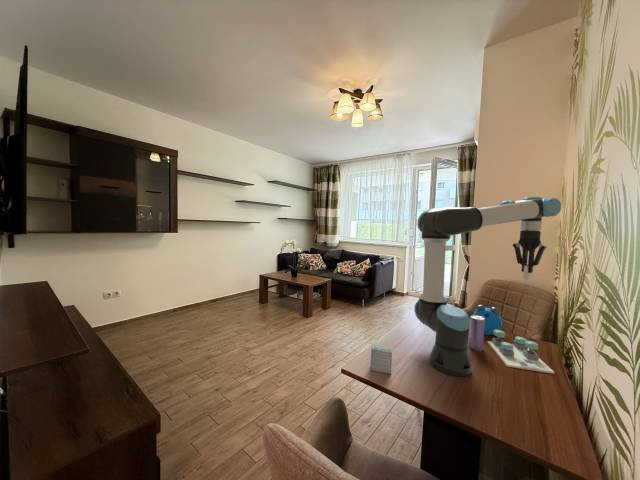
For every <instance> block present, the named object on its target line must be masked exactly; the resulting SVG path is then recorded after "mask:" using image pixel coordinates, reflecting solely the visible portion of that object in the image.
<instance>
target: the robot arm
mask: <svg viewBox="0 0 640 480" xmlns="http://www.w3.org/2000/svg"><path fill="white" fill-rule="evenodd" d="M561 211H562V202H561V201H560V200H559V199H558V198H556V197H546V198H545V197H544V198H543V197H541V196H528V197H527V196H526V197H523V199H522V200H521V199H520V200H511V199H510V200H503V201H502V202H501V203H500V204H499V205H498V204H497V205H493V206H485V207H479V208H478V207H476V206H470V207H469V206H468V207H451V206H450V207H437V208H435V207H434V208H429V209H426V210H424V211H423V212H421V214H420V215H419V216H418V218H417V228H418V230H419V232H421V240H423V242H424V255H423V257H424V261H423V283H422V285H423V286H422V293H421V294H420V295H419V298H418V300H417V301H416V302H415V303H414V304H415V305H414V307H413V308H414V311H413V312H414V315H415V317H416V318H417V320H419V322H420V323H422V324H423V325H425V326H426V327H427V328H429V329H430V330H432V331H433V332H434V333H435V339H434V340H435V342H434V344H433V347H432V350H431V352H430V354H429V363H430V365H431V366H432V368H434V369H436V370H437V371H439V372H441V373H444V374H446V375H449V376H453V377H465V376H469V375H470V374H471V373H472V364H471V360H470V356H469V353H468V347H469V346H468V338H469V326H470V316H469V314H468V313H467V312H466V311H465V310H464V309H463V308H462V309H461V308H460V307H457V306H454V305H450V304H448V298H446V296H445V295H444V293H445V290H444V289H445V288H444V287H445V271H446V269H445V268H446V250H447V249H446V244H447V242H449V241H450V239H451V236H456V235H457V236H458V235H460V234H465V233H470V232H474V231H475V232H476V231H479V230H481V228H483V227H489V226H495V225H501V224H502V225H503V224H507V223H511V222H512V223H513V222H518V221H520V227H519V228H520V232H519V240H517V241H518V242H515V243H513V244H512V247H513V249H514V251H515V256H516V262H517V264H519V265H521V273H523V276H522V280H525V281H526V280H527V281H529V280H530V278H531V277H530V275H531V274H532V273H533V271H534V267H535V266H539V263H540V261H541V259H542V256H543V254H544V252H545V250H547V248H548V246H547V245H544V244H543V243H542V241H541V233H542V231H541V230H542V225H543V224H542V223H543V222H542V220H543V218H549V217H555V216H557V215H558V214H560V213H561ZM520 247H521V248H522V249H521V248H520ZM537 248H538V251H537V252H536V250H537ZM535 252H536V255H535Z"/></svg>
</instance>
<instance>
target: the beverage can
mask: <svg viewBox="0 0 640 480" xmlns="http://www.w3.org/2000/svg"><path fill="white" fill-rule="evenodd" d="M469 323H470V326H469V336H468V346H467V347H468V348H469V349H470V350H472V351H476V352H482V350H484V349H483V348H484V340H485V339H484V337H485V334H484V328H485V318H483V317H481V316H477V315H474V314H472V315H470V316H469Z"/></svg>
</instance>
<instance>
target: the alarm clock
mask: <svg viewBox="0 0 640 480" xmlns="http://www.w3.org/2000/svg"><path fill="white" fill-rule="evenodd" d="M474 309H475V311H474V312H473V315H477V316H481V317H483V318H485V328H484V335H485V336H493V335H494V330H501V329H502V327H503V319H502V317H501V310H500V309H499V307H496V306H491V307H490V306H487V307H486V306H485V305H484V304H477V305H476V306H475V307H474ZM501 331H502V330H501ZM494 336H495V335H494Z"/></svg>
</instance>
